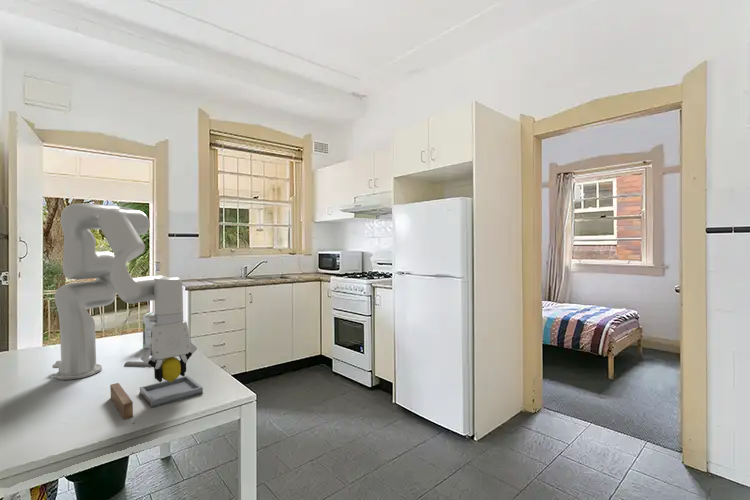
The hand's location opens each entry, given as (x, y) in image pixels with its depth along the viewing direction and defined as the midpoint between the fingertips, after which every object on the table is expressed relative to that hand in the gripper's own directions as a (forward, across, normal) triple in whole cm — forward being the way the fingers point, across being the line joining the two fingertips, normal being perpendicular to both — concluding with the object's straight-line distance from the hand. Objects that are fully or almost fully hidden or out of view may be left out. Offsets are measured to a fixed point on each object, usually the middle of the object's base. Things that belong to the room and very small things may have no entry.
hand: (170, 377), depth 113 cm
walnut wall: (+5, -13, 0) cm, 14 cm away
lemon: (+2, 0, 0) cm, 2 cm away
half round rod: (+6, +2, +32) cm, 32 cm away
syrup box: (+5, +9, +58) cm, 59 cm away
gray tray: (+5, 0, 0) cm, 5 cm away
